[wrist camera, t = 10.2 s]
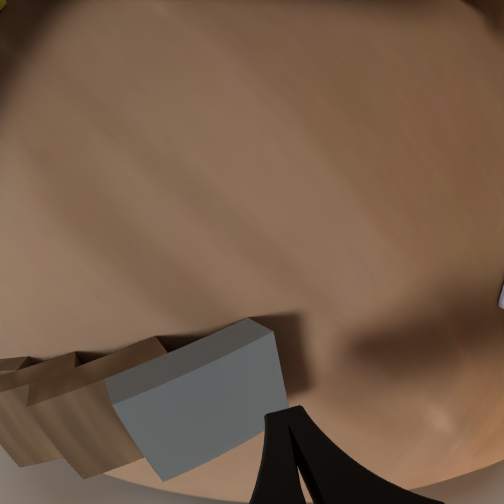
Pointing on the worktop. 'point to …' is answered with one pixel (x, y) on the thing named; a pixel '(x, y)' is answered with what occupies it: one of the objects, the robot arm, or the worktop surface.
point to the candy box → (2, 4)
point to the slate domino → (201, 397)
